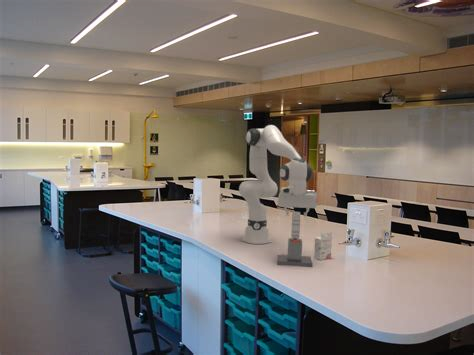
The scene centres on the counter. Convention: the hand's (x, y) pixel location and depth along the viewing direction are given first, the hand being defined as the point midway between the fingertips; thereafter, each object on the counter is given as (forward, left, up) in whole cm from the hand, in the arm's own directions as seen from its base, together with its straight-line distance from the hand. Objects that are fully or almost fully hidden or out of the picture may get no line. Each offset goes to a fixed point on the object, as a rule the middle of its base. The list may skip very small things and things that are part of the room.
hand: (296, 215), depth 224 cm
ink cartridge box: (-12, +16, -25) cm, 32 cm away
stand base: (0, 0, -25) cm, 25 cm away
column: (0, 0, -16) cm, 16 cm away
